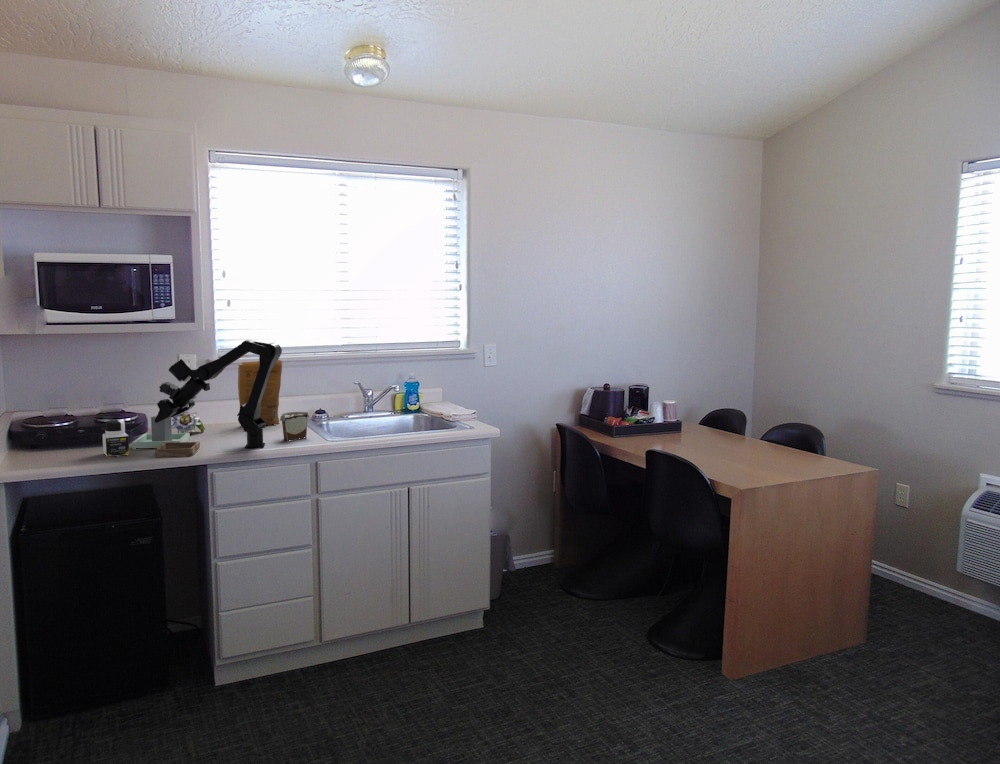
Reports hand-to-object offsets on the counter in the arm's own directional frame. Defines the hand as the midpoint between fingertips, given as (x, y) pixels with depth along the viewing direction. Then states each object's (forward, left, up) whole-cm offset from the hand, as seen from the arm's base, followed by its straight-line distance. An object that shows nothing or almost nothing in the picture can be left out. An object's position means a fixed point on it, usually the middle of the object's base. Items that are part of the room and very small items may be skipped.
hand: (161, 419), depth 270 cm
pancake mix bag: (-35, +31, -9) cm, 48 cm away
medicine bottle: (+16, -11, -9) cm, 22 cm away
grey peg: (0, 0, -9) cm, 9 cm away
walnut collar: (+15, +9, -9) cm, 20 cm away
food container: (-5, +46, -9) cm, 47 cm away
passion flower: (-20, +4, -9) cm, 23 cm away
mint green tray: (0, 0, -9) cm, 9 cm away
